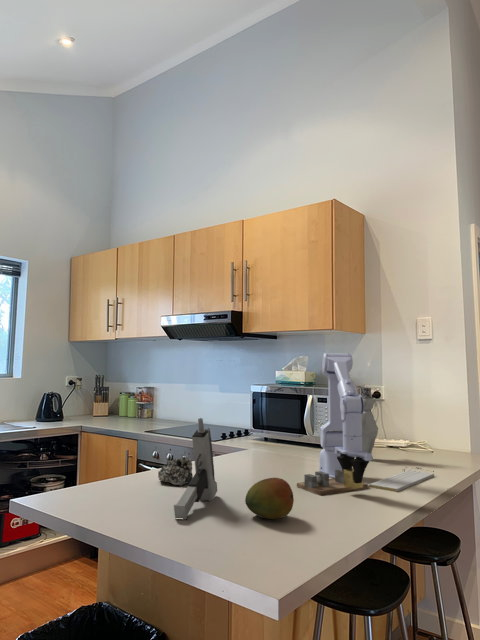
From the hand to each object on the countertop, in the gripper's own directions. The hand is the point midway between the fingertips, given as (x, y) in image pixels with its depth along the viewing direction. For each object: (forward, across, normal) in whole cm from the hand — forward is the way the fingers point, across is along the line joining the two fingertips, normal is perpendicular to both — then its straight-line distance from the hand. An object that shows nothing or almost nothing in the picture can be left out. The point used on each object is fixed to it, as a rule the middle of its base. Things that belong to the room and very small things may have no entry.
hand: (353, 481), depth 146 cm
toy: (+4, -42, +45) cm, 62 cm away
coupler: (+2, 0, 0) cm, 2 cm away
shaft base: (+4, -10, 0) cm, 11 cm away
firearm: (+4, -10, -47) cm, 48 cm away
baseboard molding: (+5, -7, +27) cm, 28 cm away
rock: (+4, -39, -42) cm, 57 cm away
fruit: (+4, +8, -35) cm, 36 cm away
